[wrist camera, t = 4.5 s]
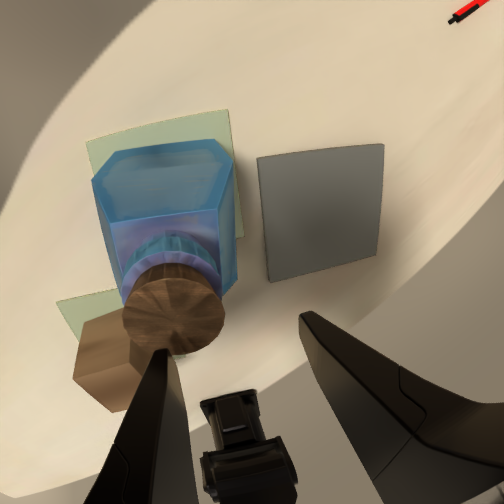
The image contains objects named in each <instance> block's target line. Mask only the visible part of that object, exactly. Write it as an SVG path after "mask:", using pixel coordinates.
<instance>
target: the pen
mask: <svg viewBox="0 0 504 504" xmlns="http://www.w3.org/2000/svg"><path fill="white" fill-rule="evenodd" d="M487 1H489V0H473V1H472V2H470V3H469V4H467V5H466V6H464V7H463V8H461V9H460V10H458V11H457V12H456V13H454V14H453V18H452V19H450V20H449V21H448V23H449V24H452V23H453V22H455V21H456V22H459V21H461V20H463V19H464V18H465V17H467V16H468V15H469V14H471V13H472V12H474V11H475V10H477V9H478V8H479V7H480V6H482V5H483V4H485V3H486V2H487Z"/></svg>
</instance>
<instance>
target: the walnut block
mask: <svg viewBox="0 0 504 504" xmlns="http://www.w3.org/2000/svg"><path fill="white" fill-rule="evenodd" d="M123 308H124V307H123ZM123 308H120V309H118V310H115V311H113V312H110V313H107V314H105V315H102V316H100V317H97V318H94V319H92V320H89V321H86V322H84V324H83V328H82V333H81V337H80V342H79V347H78V352H77V357H76V362H75V368H74V374H73V380H74V381H75V382H76V383H77V384H78V385H80V386H81V387H82V388H83V389H84V390H85V391H86V392H87V393H89V394H90V395H91V396H92V397H93V398H94V399H96V400H97V401H98V402H99V403H100V404H102V405H103V406H104V407H105V408H107V409H108V410H109V411H110V412H112V413H114V412H119V411H123V410H127V409H128V407H129V405H130V403H131V401H132V398H133V396H134V394H135V392H136V389H137V387H138V385H139V383H140V381H141V378H142V376H143V374H144V372H145V370H146V367H147V365H148V363H149V361H150V359H151V357H152V355H153V352H150V351H148V350H146V349H144V348H142V347H140V346H139V345H137V344H136V343H135V342H134V341H133V340H131V339H130V337H129V336H128V334H127V332H126V331H125V329H124V327H123V321H122V312H123Z"/></svg>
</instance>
